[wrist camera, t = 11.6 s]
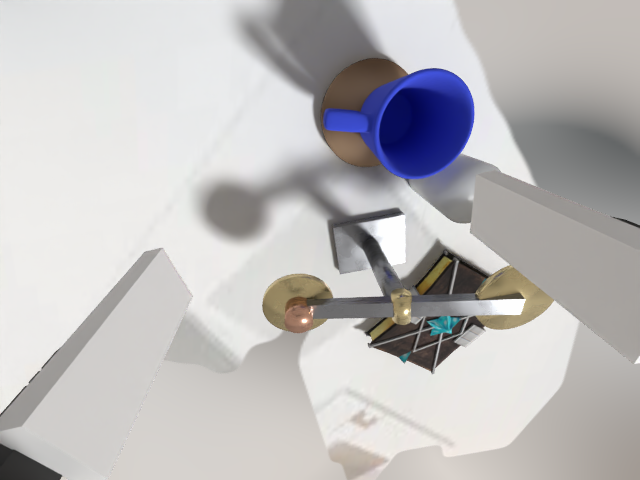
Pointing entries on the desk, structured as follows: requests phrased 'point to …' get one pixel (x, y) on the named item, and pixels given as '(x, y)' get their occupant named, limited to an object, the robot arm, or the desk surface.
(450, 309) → the balance
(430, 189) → the white cylinder
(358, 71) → the dish
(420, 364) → the book
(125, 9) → the desk surface
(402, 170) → the mug
